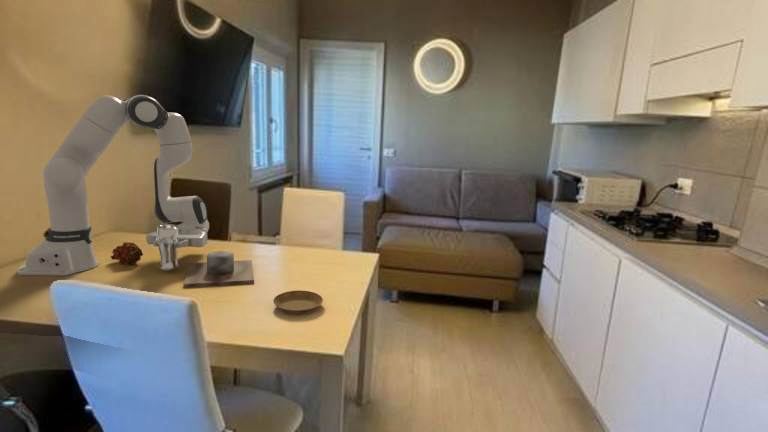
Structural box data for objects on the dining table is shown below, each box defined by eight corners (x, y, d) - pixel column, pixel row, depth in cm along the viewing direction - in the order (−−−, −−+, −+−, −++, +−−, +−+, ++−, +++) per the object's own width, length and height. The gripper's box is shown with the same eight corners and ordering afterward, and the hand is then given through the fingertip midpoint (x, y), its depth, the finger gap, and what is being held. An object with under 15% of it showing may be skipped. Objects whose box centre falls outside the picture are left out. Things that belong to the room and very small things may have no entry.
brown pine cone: (140, 270, 158) (115, 269, 162) (153, 252, 164) (128, 252, 168) (125, 255, 152) (99, 255, 156) (139, 237, 158) (114, 237, 162)
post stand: (183, 287, 141) (182, 266, 139) (189, 265, 161) (189, 247, 160) (254, 283, 148) (253, 263, 146) (251, 263, 168) (251, 245, 167)
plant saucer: (332, 308, 132) (332, 300, 132) (293, 323, 121) (293, 314, 121) (302, 294, 142) (302, 286, 141) (263, 306, 131) (263, 298, 130)
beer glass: (184, 265, 157) (182, 225, 154) (173, 271, 150) (171, 229, 147) (165, 263, 158) (164, 223, 155) (154, 269, 151) (152, 227, 148)
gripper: (156, 225, 164) (136, 234, 151) (210, 228, 165) (195, 237, 151) (157, 241, 165) (137, 251, 152) (211, 244, 166) (196, 255, 152)
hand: (167, 244), depth 151 cm, fingers closed on beer glass, 6 cm apart
